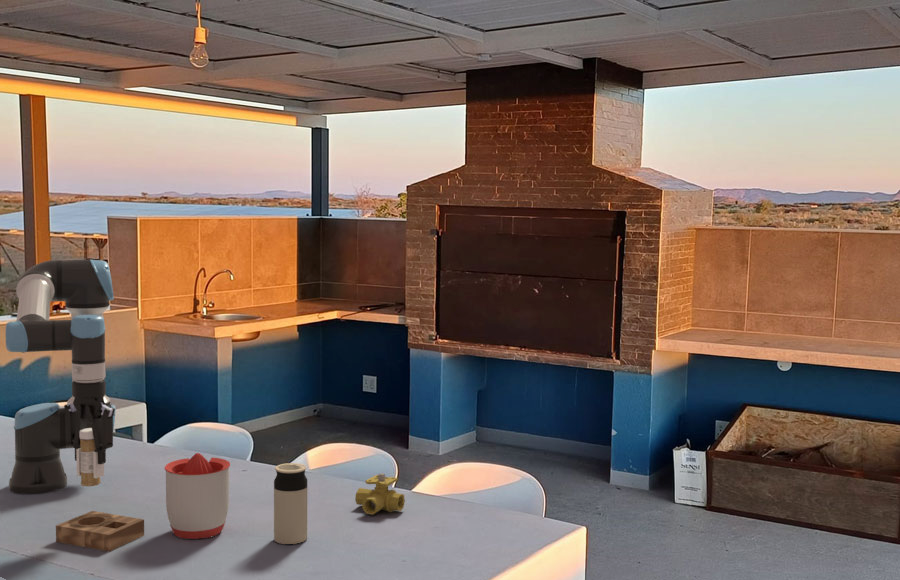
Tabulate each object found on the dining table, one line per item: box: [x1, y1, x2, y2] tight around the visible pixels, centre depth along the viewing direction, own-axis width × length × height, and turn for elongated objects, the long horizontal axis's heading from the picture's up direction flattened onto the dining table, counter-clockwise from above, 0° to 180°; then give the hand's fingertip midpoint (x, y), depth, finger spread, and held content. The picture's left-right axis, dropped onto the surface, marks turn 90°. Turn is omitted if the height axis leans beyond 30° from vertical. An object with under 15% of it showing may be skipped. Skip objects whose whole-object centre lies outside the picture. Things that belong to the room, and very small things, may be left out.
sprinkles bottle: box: [79, 428, 101, 487], centre depth 224 cm, size 5×5×14 cm
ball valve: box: [354, 472, 406, 515], centre depth 248 cm, size 13×10×10 cm
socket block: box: [55, 510, 145, 553], centre depth 225 cm, size 16×12×4 cm
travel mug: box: [273, 462, 308, 545], centre depth 225 cm, size 8×8×18 cm
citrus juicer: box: [164, 452, 231, 540], centre depth 230 cm, size 16×17×20 cm
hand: (90, 475), depth 225 cm, fingers closed on sprinkles bottle, 4 cm apart
